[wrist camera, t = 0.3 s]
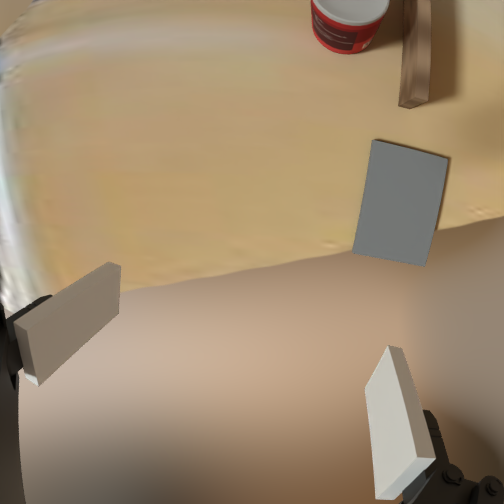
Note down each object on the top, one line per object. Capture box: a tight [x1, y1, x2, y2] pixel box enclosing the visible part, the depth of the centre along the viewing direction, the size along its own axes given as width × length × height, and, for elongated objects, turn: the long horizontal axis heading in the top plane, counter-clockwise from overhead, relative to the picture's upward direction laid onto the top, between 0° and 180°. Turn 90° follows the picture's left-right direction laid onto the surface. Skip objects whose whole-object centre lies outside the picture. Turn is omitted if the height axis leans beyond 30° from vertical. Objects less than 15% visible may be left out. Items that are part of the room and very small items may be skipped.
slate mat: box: [352, 140, 448, 266], centre depth 36 cm, size 14×10×1 cm
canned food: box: [311, 0, 390, 54], centre depth 26 cm, size 8×8×11 cm
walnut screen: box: [398, 0, 431, 109], centre depth 27 cm, size 16×2×7 cm, turn 172°
